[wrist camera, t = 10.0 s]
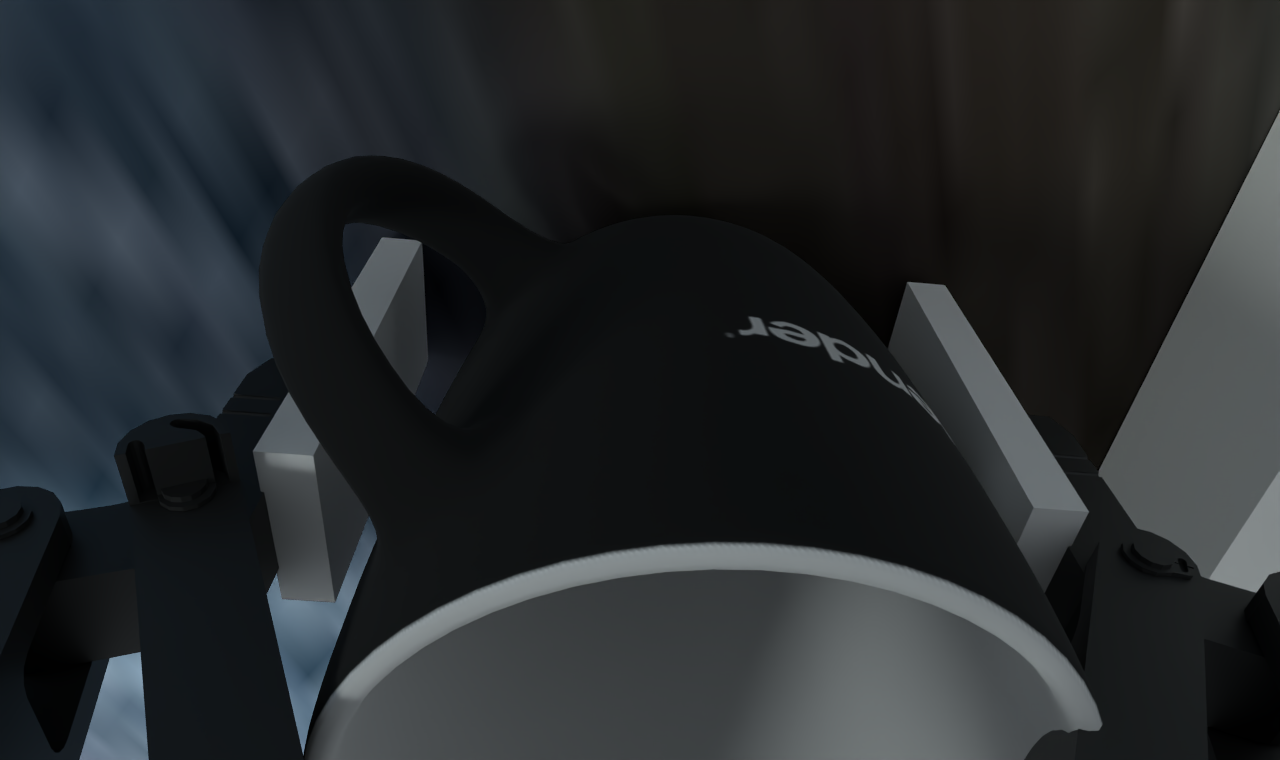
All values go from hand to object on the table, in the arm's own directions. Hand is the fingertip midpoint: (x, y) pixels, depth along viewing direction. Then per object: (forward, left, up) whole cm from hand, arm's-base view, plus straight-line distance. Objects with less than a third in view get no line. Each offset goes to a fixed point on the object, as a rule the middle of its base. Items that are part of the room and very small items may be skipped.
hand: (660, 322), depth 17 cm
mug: (-1, 0, -1) cm, 1 cm away
